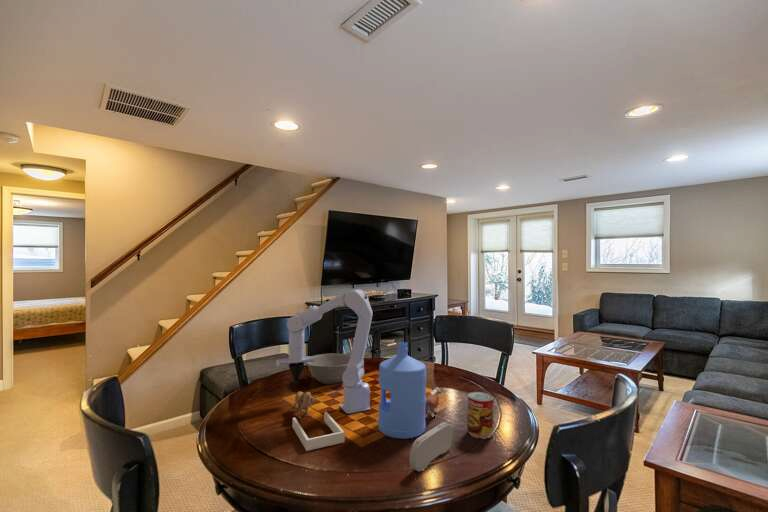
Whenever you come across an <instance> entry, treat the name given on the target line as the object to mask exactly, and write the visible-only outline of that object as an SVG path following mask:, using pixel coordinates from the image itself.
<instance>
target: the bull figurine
mask: <svg viewBox="0 0 768 512" xmlns="http://www.w3.org/2000/svg"><path fill="white" fill-rule="evenodd" d="M442 395H443V393H442V391H441V389H440V388H439V387H435V388H434V387H432V388H431V392H430V393H429V394H428V396H426V405H425V418H427V419H428V413H430V415H431V417H432V418H433V417H434V416H435V411H437V412H438V410H437V409H438V405H439V401H440V400H439V399H440V398H439V396H442ZM435 417H436V416H435Z"/></svg>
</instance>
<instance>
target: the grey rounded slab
mask: <svg viewBox="0 0 768 512" xmlns="http://www.w3.org/2000/svg"><path fill="white" fill-rule="evenodd" d="M453 437H454V431H453V427H452V425H450V424H449V423H447V422H444V421H443V422H441V423H439V424H438V425H436V426H435V427H433V428H432V429H429V430H428V431H426V432H425V433H422V434H421V435H420V436H418V437H416V439H415V440H414V442H413V443H412V446H411V447H410V452H409V465H410V467H411V469H412V470H414V471H416V472H420V471H422V470H423V469H425V468H426V469H427V467H428V466H429V464H430V463H431V462H432V461H433V460H435V459H436V458H437V457H439V456H440V455H444V454H443V453H444V452H445V451H446V450H447V449H449V448H450V449H451V447H452V443H453ZM450 449H449V450H450ZM426 469H425V470H426ZM422 472H423V471H422ZM420 473H421V472H420Z"/></svg>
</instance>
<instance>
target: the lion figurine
mask: <svg viewBox="0 0 768 512" xmlns="http://www.w3.org/2000/svg"><path fill="white" fill-rule="evenodd" d="M315 402H316V397H314V396H313V395H312V393H311V392H308V391H307V392H303V391H298V392H296V394H295V398H294V403H293V405H294V409H293V412H294V413H296V412H298V416H297V419H303V416H302V415H303V414H302V410H303V411H304V417H309V413H308V409H309V408H310V407H311V404H312V405H313V404H315Z"/></svg>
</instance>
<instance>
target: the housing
mask: <svg viewBox="0 0 768 512" xmlns="http://www.w3.org/2000/svg"><path fill="white" fill-rule="evenodd" d="M323 414H324V415H323V421H324V422H325V424H326V425H327V426H328V428H329V429H330V430H331V431H332V433H329V434H324V435H320V436H315V437H310V438H309V437H308V435H307V434H306V432H305V431H304V429H303V427H302V426H301V424H300V423H299V421H298V419H297V418H296V417H292V429H293V430H294V432H295V434H296V435H297V437H298V440H300V443H301V444H302V446H303V448H304V449H305V451H306V452H308V451H312V450H317V449H321V448H325V447H330V446H334V445H339V444H343V443H345V439H346V438H345V433H346V432H345V431H344V430H343V429H342V428H341V426H340V425H339V424H338V423H337V421H336V420H334V418H333V417H332V416H331V415H330V413H329V412H327V411H324V413H323Z"/></svg>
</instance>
